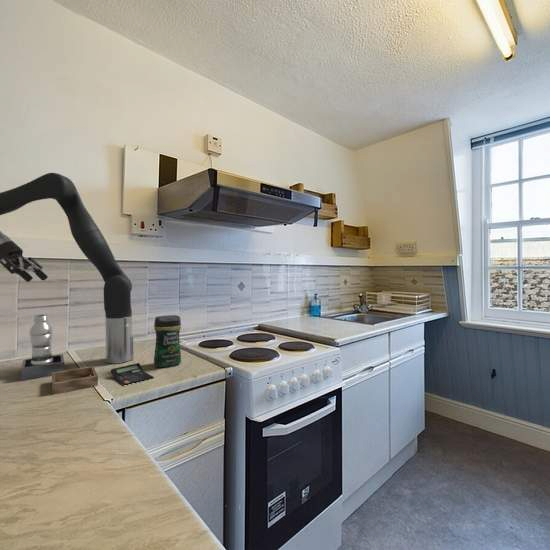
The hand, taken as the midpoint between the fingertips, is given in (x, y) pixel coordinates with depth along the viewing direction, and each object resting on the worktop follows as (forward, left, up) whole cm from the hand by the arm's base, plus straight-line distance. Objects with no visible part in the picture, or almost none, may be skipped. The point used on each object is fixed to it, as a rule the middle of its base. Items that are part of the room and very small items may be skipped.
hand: (38, 279), depth 114 cm
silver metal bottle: (-1, +7, -32) cm, 33 cm away
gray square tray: (-1, +7, -32) cm, 33 cm away
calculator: (-25, +30, -33) cm, 51 cm away
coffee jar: (-39, +23, -32) cm, 56 cm away
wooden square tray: (-9, +26, -32) cm, 42 cm away
